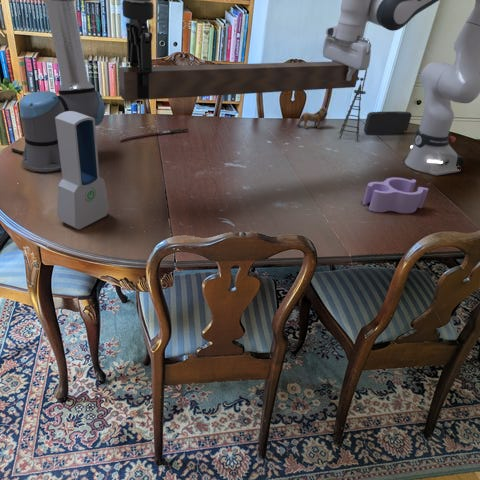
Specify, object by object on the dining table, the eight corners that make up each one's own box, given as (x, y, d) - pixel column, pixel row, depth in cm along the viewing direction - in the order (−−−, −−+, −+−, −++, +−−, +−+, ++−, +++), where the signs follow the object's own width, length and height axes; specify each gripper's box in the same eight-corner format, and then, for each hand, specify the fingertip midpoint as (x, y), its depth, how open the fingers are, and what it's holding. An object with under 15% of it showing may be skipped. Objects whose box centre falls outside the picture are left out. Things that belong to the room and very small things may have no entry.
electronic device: (76, 231, 126) (63, 124, 110) (57, 222, 129) (42, 116, 113) (110, 214, 135) (103, 112, 119) (91, 206, 138) (82, 105, 122)
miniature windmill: (357, 141, 207) (374, 71, 190) (338, 138, 208) (353, 69, 191) (357, 134, 214) (373, 67, 198) (339, 132, 215) (353, 64, 199)
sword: (184, 128, 200) (184, 125, 199) (188, 130, 198) (188, 128, 197) (117, 141, 184) (116, 138, 183) (120, 143, 182) (120, 140, 181)
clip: (376, 216, 149) (381, 197, 146) (356, 198, 159) (361, 179, 155) (427, 211, 156) (433, 192, 152) (405, 194, 165) (410, 176, 162)
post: (124, 101, 124) (123, 72, 120) (119, 95, 128) (118, 67, 124) (355, 87, 160) (360, 64, 156) (346, 83, 164) (350, 60, 159)
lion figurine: (321, 124, 222) (325, 105, 217) (326, 128, 218) (330, 109, 213) (293, 125, 217) (296, 106, 212) (298, 129, 213) (302, 110, 208)
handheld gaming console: (403, 131, 225) (409, 110, 219) (406, 133, 222) (412, 112, 217) (362, 132, 217) (367, 111, 212) (365, 134, 215) (370, 113, 210)
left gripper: (165, 7, 110) (165, 104, 123) (140, -5, 123) (142, 84, 136) (135, 6, 107) (137, 106, 120) (112, -6, 120) (116, 85, 133)
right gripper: (379, 40, 145) (369, 85, 152) (337, 28, 159) (330, 69, 167) (364, 40, 142) (354, 86, 149) (323, 27, 156) (316, 70, 164)
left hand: (140, 94), depth 128 cm, fingers closed on post, 5 cm apart
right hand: (341, 77), depth 158 cm, fingers closed on post, 5 cm apart
